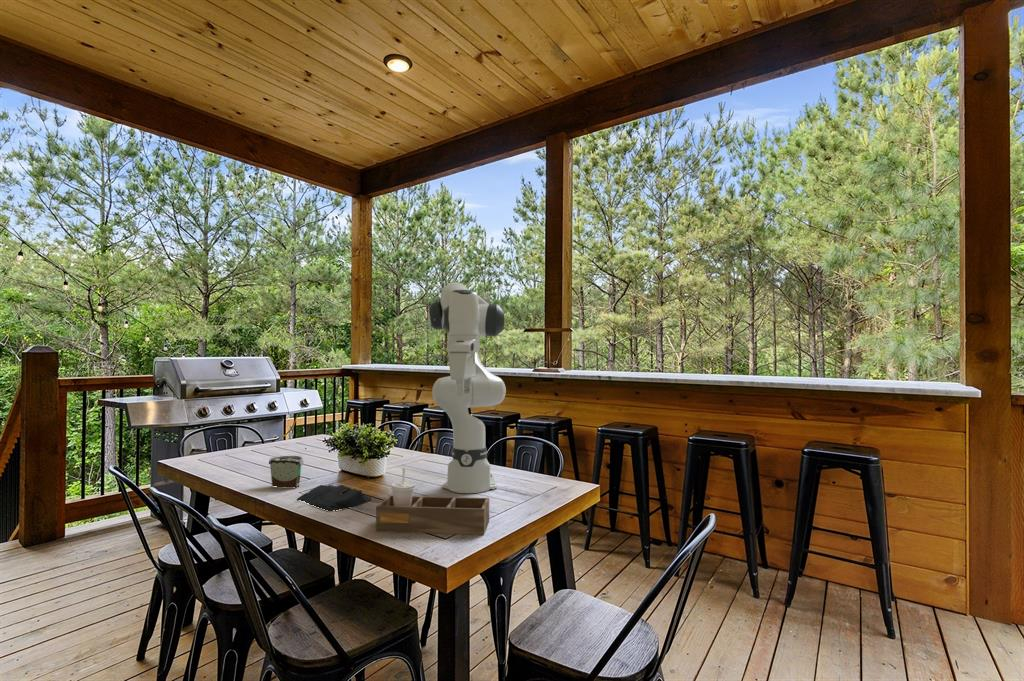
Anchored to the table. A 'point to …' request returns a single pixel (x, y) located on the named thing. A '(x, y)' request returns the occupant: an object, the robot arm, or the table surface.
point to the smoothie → (402, 492)
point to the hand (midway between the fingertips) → (463, 394)
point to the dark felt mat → (334, 497)
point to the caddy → (434, 515)
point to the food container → (286, 471)
